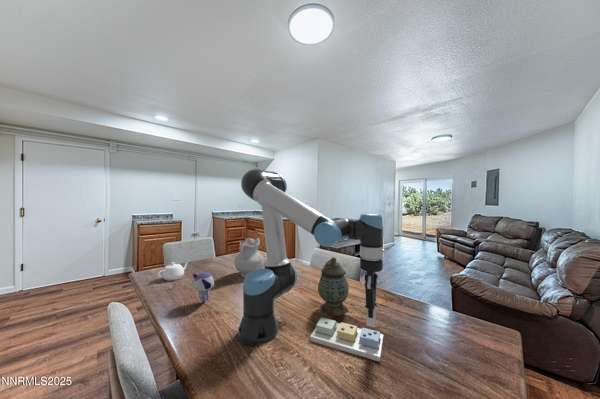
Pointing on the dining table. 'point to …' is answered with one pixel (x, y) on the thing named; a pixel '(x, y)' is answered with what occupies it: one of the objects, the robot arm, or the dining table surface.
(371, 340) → the tile three
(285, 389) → the dining table surface
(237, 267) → the ceramic pitcher
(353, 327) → the tile two
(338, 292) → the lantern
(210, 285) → the toy
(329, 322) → the tile one
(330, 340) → the panel
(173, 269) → the teapot
